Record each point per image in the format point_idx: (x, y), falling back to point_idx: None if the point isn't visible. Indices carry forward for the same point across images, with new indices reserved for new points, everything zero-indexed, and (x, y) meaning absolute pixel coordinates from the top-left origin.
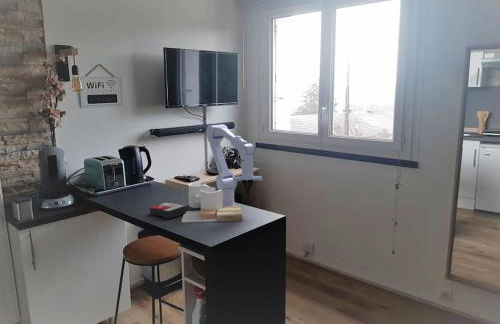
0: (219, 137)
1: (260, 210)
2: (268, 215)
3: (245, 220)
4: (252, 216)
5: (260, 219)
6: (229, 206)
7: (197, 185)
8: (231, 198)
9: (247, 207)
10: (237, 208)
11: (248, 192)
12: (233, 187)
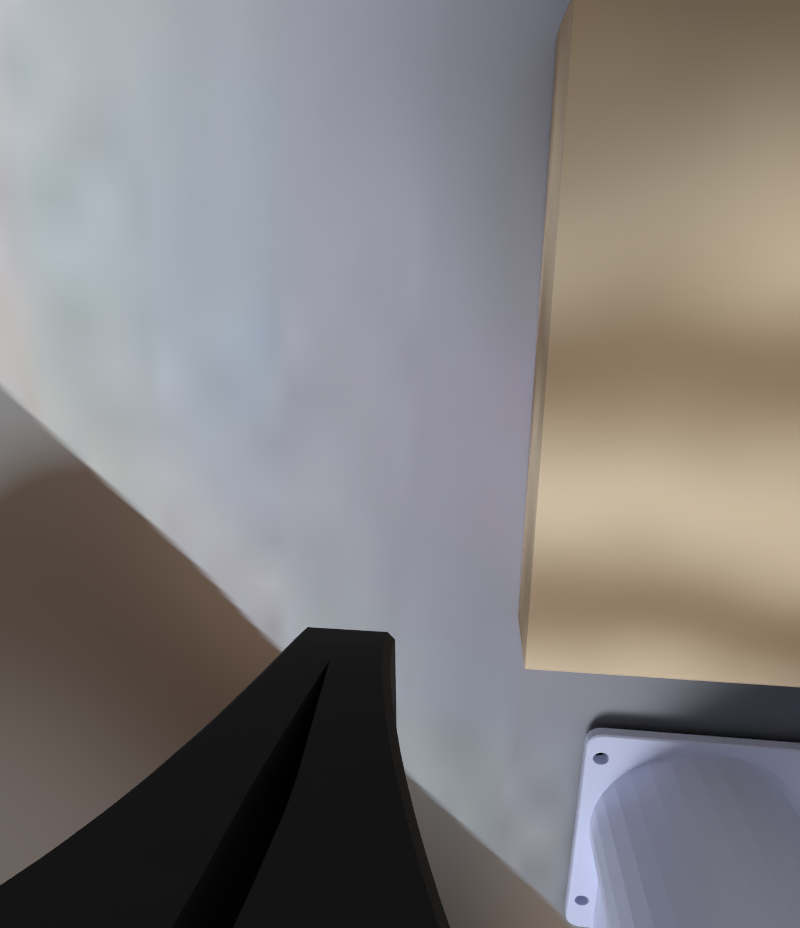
0: None
1: (215, 569)
2: (81, 304)
3: (491, 26)
4: (344, 279)
5: (204, 73)
6: (735, 663)
7: None
8: (688, 904)
9: (400, 726)
10: (603, 522)
11: (290, 679)
12: None
